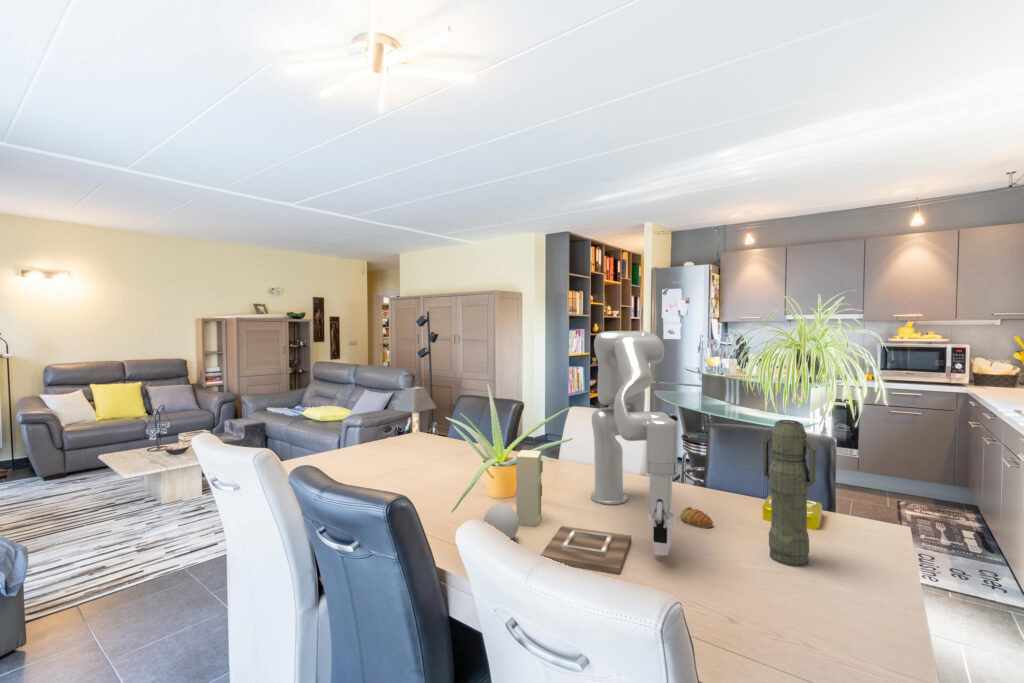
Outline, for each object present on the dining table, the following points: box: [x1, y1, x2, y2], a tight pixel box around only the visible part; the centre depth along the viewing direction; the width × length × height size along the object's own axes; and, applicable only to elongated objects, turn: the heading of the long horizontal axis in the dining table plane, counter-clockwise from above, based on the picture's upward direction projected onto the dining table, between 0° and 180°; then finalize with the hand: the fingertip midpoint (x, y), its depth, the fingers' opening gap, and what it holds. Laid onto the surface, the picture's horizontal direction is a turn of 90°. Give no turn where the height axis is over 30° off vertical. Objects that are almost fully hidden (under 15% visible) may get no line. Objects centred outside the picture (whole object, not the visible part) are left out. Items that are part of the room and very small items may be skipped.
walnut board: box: [540, 525, 632, 575], centre depth 131 cm, size 20×20×3 cm
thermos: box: [763, 419, 817, 567], centre depth 125 cm, size 9×12×35 cm
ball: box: [483, 503, 520, 540], centre depth 138 cm, size 10×10×10 cm
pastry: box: [680, 506, 714, 529], centre depth 149 cm, size 9×7×4 cm
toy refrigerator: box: [515, 449, 544, 527], centre depth 152 cm, size 8×7×21 cm
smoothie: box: [648, 511, 676, 556], centre depth 126 cm, size 6×6×14 cm
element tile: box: [761, 494, 823, 531], centre depth 153 cm, size 15×15×5 cm
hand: (661, 535), depth 126 cm, fingers closed on smoothie, 6 cm apart
